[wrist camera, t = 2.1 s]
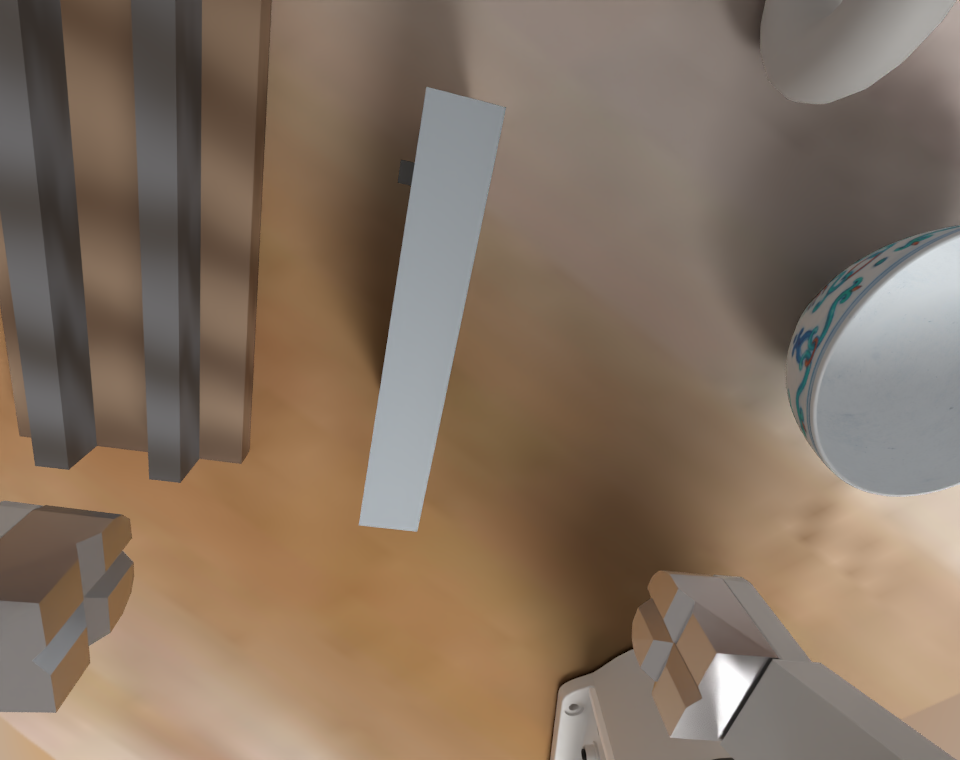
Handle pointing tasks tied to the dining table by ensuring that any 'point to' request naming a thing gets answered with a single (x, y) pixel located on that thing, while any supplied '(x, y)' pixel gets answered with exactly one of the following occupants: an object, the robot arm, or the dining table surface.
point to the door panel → (428, 299)
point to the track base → (132, 224)
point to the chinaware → (884, 368)
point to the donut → (841, 43)
